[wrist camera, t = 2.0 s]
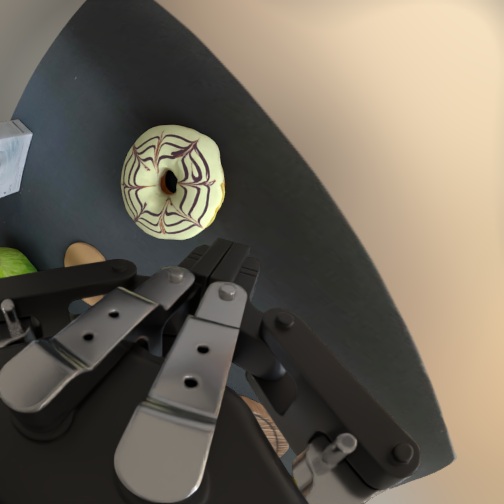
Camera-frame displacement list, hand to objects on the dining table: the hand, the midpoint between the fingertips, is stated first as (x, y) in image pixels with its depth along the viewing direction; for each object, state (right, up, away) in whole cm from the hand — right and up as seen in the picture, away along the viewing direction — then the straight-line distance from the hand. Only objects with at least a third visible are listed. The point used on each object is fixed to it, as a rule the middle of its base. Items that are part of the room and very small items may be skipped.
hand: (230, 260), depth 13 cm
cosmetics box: (-36, +16, +16) cm, 42 cm away
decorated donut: (-6, +8, +13) cm, 16 cm away
